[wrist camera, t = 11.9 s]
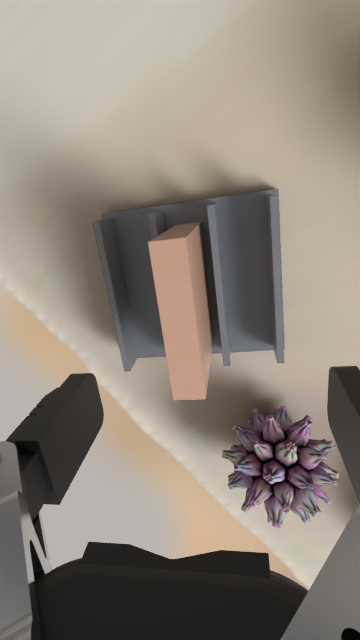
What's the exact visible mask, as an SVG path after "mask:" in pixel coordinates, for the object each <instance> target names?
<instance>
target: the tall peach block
mask: <svg viewBox="0 0 360 640" xmlns="http://www.w3.org/2000/svg"><path fill="white" fill-rule="evenodd" d="M148 246H149V252H150V258H151V265H152V271H153V277H154V283H155V289H156V296H157V302H158V308H159V314H160V321H161V327H162V333H163V339H164V346H165V352H166V358H167V364H168V371H169V377H170V383H171V389H172V396H173V400H200V399H206V394H207V386H208V378H209V371H210V363H211V356H212V348H213V340H214V331H213V322H212V313H211V303H210V294H209V284H208V275H207V265H206V256H205V247H204V237H203V228H202V222H194V223H186V224H178V225H175V226H173V227H172V228H170V229H168V230H167V231H165V232H164V233H162V234H160V235H159V236H157V237H155V238H154V239H152V240H150V241H149V242H148Z"/></svg>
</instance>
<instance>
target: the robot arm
mask: <svg viewBox="0 0 360 640" xmlns="http://www.w3.org/2000/svg"><path fill="white" fill-rule="evenodd" d="M327 411H328V420H329V425H330V428H331V431H332V433H333V436H334V439H335V441H336V444H337V446H338V449H339V451H340V454H341V456H342V459H343V462H344V464H345V467H346V469H347V472H348V474H349V477H350V480H351V482H352V485H353V487H354V490H355V492H356V495H357V497H358V500H359V503H360V370H359V368H358V367H357V366H340V367H330V370H329V384H328V406H327ZM103 415H104V413H103V407H102V403H101V399H100V394H99V390H98V386H97V381H96V378H95V376H94V375H93V374H92V373H85V374H71V375H70V376H69V377H68V378H67V379H66V380H65V382H64V383H63V384H62V385H61V386H60V387H59V388H56V389H55V390H53V391H52V392H50V393H49V394H47V395H46V396H45V397H44V398H43V399H42V400H41V401H40V402H39V403H38V404H37V406H36V408H34V409H33V410H32V411H31V413H30V414H29V416H27V417H26V418H25V419H24V420H23V421H22V423H21V424H20V425H19V426H18V427H17V428H16V429H15V431H14V432H13V433H12V434H11V435H10V436H9V438H8V439H7V440H6V441H2V442H0V640H360V504H359V505H358V507H357V508H356V510H355V512H354V513H353V515H352V517H351V519H350V520H349V522H348V524H347V525H346V527H345V529H344V531H343V532H342V534H341V536H340V538H339V539H338V541H337V543H336V544H335V546H334V548H333V550H332V551H331V553H330V555H329V557H328V558H327V560H326V562H325V563H324V565H323V567H322V569H321V570H320V572H319V574H318V576H317V577H316V579H315V581H314V582H313V584H312V586H311V588H310V589H309V591H308V590H306V589H305V588H304V587H302V586H301V585H299V584H298V583H296V582H294V581H293V580H291V579H289V578H287V577H285V576H283V575H281V574H279V573H276V572H273V571H271V570H270V567H269V556H268V553H256V552H240V551H224V550H220V551H215V552H210V553H205V554H200V555H195V556H189V557H185V558H179V559H168V558H165V557H163V556H160V555H157V554H154V553H152V552H149V551H146V550H143V549H141V548H138V547H135V546H132V545H130V544H115V543H99V542H88V545H87V547H86V550H85V552H84V555H83V557H82V558H80V559H77V560H74V561H70V562H68V563H66V564H63V565H61V566H59V567H57V568H55V569H53V570H52V569H51V565H50V559H49V554H48V549H47V543H46V538H45V533H44V528H43V522H42V518H41V515H40V512H39V511H40V509H41V508H42V506H43V504H55V505H59V504H60V503H61V501H62V499H63V497H64V495H65V493H66V491H67V490H68V488H69V486H70V484H71V482H72V480H73V478H74V477H75V475H76V473H77V471H78V469H79V467H80V466H81V464H82V462H83V460H84V458H85V456H86V454H87V453H88V451H89V449H90V447H91V445H92V443H93V442H94V440H95V438H96V436H97V434H98V432H99V430H100V428H101V426H102V423H103Z"/></svg>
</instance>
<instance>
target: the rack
mask: <svg viewBox="0 0 360 640" xmlns="http://www.w3.org/2000/svg"><path fill="white" fill-rule="evenodd" d="M102 219H103V220H99V221H94V222H93V227H94V231H95V236H96V241H97V245H98V250H99V255H100V259H101V264H102V269H103V273H104V278H105V283H106V287H107V292H108V297H109V301H110V306H111V311H112V315H113V320H114V325H115V329H116V334H117V339H118V343H119V348H120V353H121V357H122V362H123V367H124V371H130V370H131V369H132V367H133V365H134V363H135V362H136V360H137V358H147V357H164V356H166V352H165V346H164V339H163V333H162V327H161V321H160V314H159V308H158V302H157V296H156V289H155V283H154V277H153V271H152V265H151V258H150V252H149V246H148V242H149V241H150V240H152V239H154V238H155V237H157V236H159V235H160V234H162V233H164V232H165V231H167V230H168V229H170V228H172V227H173V226H175V225H178V224H186V223H194V222H202V228H203V237H204V247H205V256H206V265H207V275H208V284H209V294H210V303H211V313H212V322H213V331H214V340H213V348H212V354H214V353H222V354H223V364H224V366H230V352H247V351H263V350H274V351H275V355H276V359H277V363H284V324H283V298H282V272H281V245H280V219H279V193H278V189H272V190H265V191H258V192H251V193H244V194H237V195H230V196H223V197H216V198H209V199H202V200H195V201H188V202H181V203H174V204H167V205H160V206H153V207H146V208H139V209H132V210H125V211H118V212H111V213H104V214H102Z"/></svg>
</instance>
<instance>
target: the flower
mask: <svg viewBox="0 0 360 640" xmlns="http://www.w3.org/2000/svg"><path fill="white" fill-rule="evenodd" d="M252 412H253V414H254V420H253V419H252V418H251V419H249V420H248V421H247V422H248V424H249V429H247V428H242V427H241V426H236V425H234V426H233V427H232V430H233V431H234V432H235V433H236V434H237V436H238V438H239V441H240V443H241V445H233V446H232V447H231V450H229V451H226V450H223V452H222V453H223V455H222V458H226V459H229V460H230V461H231V462H232V463H233V464H234V468H235V471H234V473H232V474H230V475H229V476H228V479H229V481H228V482H230V483H228V486H229V488H230V489H234V488H242V489H244V488H248V489H247V491H246V498H245V502H244V504H243V505H242V507H241V509H242V510H243V511H244V512H247V511H248V510H249V509H250V508H251V507H255V506H256V505H259V504H261V503H262V502H263V501H264V504H265V509H266V511H267V514H268V523H270V522H271V523H273V527H275V528H276V527H278V528H282V522H283V519H284V518H285V517H286V515H287V514H288V512H289V510H290V509H291V510H292V511H293V512H294V513H295V514H297V515H298V516H300V517H301V519H302V521H303V522H304V523H307V522H310V521H311V520H310V517H309V514H308V513H310V514H311V515H312V516H313V517H314V518H317V516H320V514H321V513H322V512H321V511H320V509H319V508H318V506H317V502H316V499H319V500H322V501H324V502H326V503H327V504H329V505H330V504H331V502H332V500H331V499H330V498H329V497H328V496H327V495H326V493H325V491H324V490H323V488H322V487H321V486H320V485H327V484H333V485H337V484H336V483H337V482H338V481H339V480H337V479H335V478H339V477H338V475H339V474H338V473H339V472H338V471H335V470H332V469H331V468H330V467H328V466H327V465H326V464H325V463H324V462H322V460H325V459H327V457H328V453H329V452H330V451H331V450H333V449H334V448H336V446H335V445H334V444H333V442H332V441H328V442H327V441H326V440H325V439H323V440H312V439H309V435H310V426H311V425H312V422H311V421H312V418H310V416H308V415H306V416H305V418H304V419H302V420H300V421H297V422H295V423H293V425H292V426H291V422H290V419H289V417H288V415H287V412H286V406H280V409H278V408H276V409H275V413H274V416H273V415H268V416H266V418H265V417H264V416H263V415H261V414H260V413H259V411H258V409H257V408H256V407H255V408H253V410H252Z"/></svg>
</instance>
